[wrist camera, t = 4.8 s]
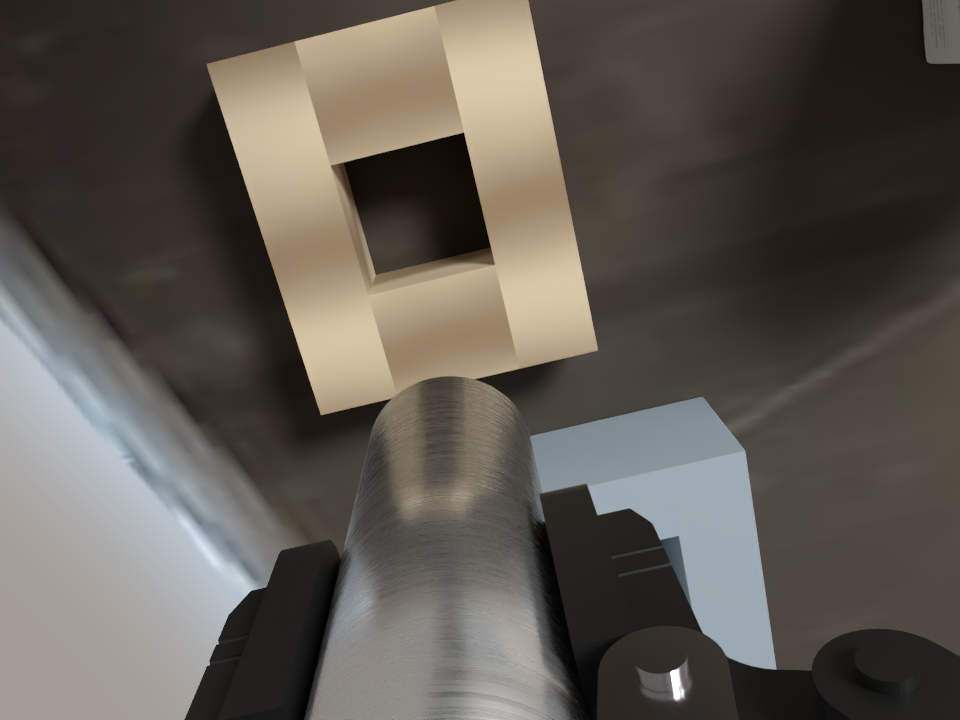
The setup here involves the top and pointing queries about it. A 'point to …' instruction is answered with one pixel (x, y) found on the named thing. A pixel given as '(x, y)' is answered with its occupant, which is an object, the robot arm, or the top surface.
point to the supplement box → (941, 31)
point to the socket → (678, 508)
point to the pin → (447, 573)
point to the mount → (393, 125)
